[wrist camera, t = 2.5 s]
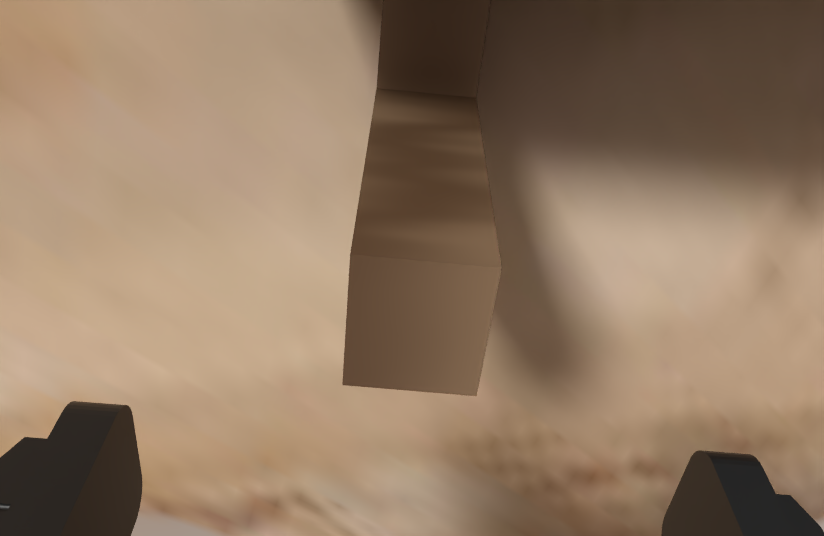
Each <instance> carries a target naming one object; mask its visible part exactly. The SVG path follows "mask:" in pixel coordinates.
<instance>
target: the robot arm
mask: <svg viewBox="0 0 824 536" xmlns="http://www.w3.org/2000/svg"><path fill="white" fill-rule="evenodd" d="M141 495H142V474H141V467H140V461H139V454H138V448H137V441H136V435H135V428H134V422H133V415H132V411H131V409H130V407H129V406H127V405H116V404H103V403H89V402H76V401H73V402H70V403H69V404H68V405H67V406H66V407H65V409H64V410H63V412H62V413H61V415H60V417H59V419H58V421H57V422H56V424H55V426H54V428H53V430H52V431H51V433H50V435H49V437H48V439H43V438H29V437H24V438H23V439H22V440H21V441H20V442H18V443H17V444H16V445H15V446H14V447H12V448H11V449H10V450H9V451H8V452H7V453H5V454H4V455H3V456H2V457H1V458H0V536H131V533H132V531H133V528H134V525H135V522H136V519H137V516H138V512H139V508H140V502H141ZM662 536H824V532H823V530H822V528H821V527H820V526H819V525H818V524H817V523H816V522H815V520H814V519H813V518H812V517H811V516H810V515H809V514H808V513H807V512H806V511H805V510H804V509H803V508H802V507H801V506H800V505H799V504H798V503H797V502H796V501H795V500H794V499H793V498H792V497H791V495H780V494H775V492H774V490H773V488H772V486H771V484H770V482H769V480H768V477H767V475H766V473H765V471H764V469H763V467H762V466H761V464H760V462H759V461H758V460H757V458H755V457H754V456H752V455H750V454H738V453H725V452H712V451H697V452H695V453H694V454H693V455H692V457H691V459H690V461H689V463H688V465H687V467H686V469H685V472H684V474H683V476H682V478H681V481H680V483H679V485H678V487H677V490H676V492H675V494H674V496H673V499H672V501H671V503H670V505H669V508H668V510H667V512H666V514H665V517H664V521H663V526H662Z"/></svg>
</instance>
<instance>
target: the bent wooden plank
mask: <svg viewBox="0 0 824 536" xmlns="http://www.w3.org/2000/svg"><path fill="white" fill-rule="evenodd" d="M490 3H491V0H383V10H382V24H381V37H380V51H379V65H378V78H377V90H376V96H375V102H374V109H373V115H372V121H371V128H370V134H369V140H368V146H367V153H366V159H365V165H364V172H363V178H362V184H361V190H360V197H359V203H358V209H357V216H356V222H355V228H354V234H353V241H352V247H351V253H350V268H349V285H348V302H347V318H346V335H345V352H344V368H343V385H349V386H361V387H373V388H385V389H397V390H409V391H421V392H433V393H445V394H457V395H469V396H477V391H478V386H479V381H480V376H481V371H482V366H483V361H484V356H485V351H486V346H487V341H488V336H489V330H490V325H491V320H492V315H493V310H494V305H495V300H496V295H497V290H498V285H499V280H500V275H501V270H502V266H501V259H500V253H499V246H498V239H497V233H496V226H495V220H494V213H493V206H492V200H491V193H490V186H489V180H488V173H487V167H486V160H485V153H484V147H483V140H482V133H481V127H480V120H479V113H478V107H477V100H476V95H477V89H478V82H479V76H480V69H481V62H482V56H483V49H484V43H485V36H486V29H487V23H488V16H489V9H490Z"/></svg>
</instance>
